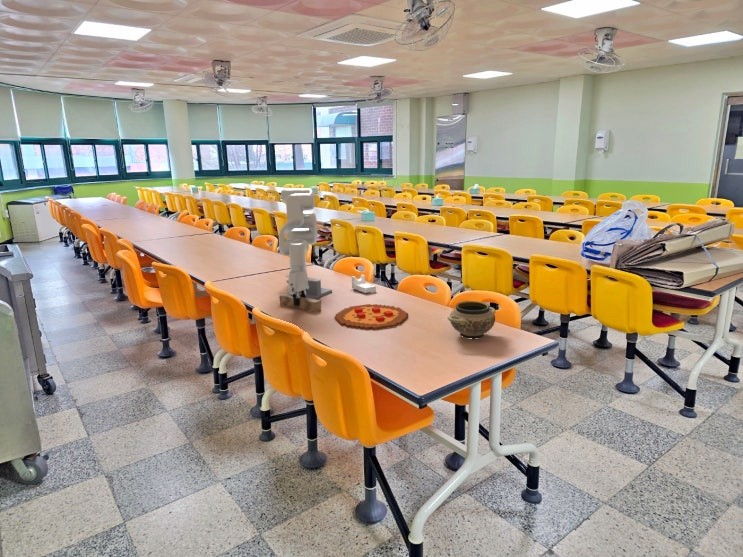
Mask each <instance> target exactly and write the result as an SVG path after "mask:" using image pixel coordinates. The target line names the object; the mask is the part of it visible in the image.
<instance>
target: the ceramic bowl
mask: <svg viewBox="0 0 743 557" xmlns="http://www.w3.org/2000/svg"><path fill="white" fill-rule="evenodd" d="M495 313H496V309H495V308H494V307H492V306H490V305H489V304H487V303H485V302H482V301H478V300H466V301H460V302H458V303H456V304H455V308H454V309H453V310H452V311H451V312H450V314H449V316H447V321H449V322H450V324H451V327H452V328H453V329H454V330H455V331H457V332H458V333H459V335H460V337H461V336H463V337H465V338H472V339H475V338H481V339H483V338H484V337H483V336H485V334H486V333H488V332H489V331H490V330H491V329H492V328H493V327H494V325H495V322H496V316H495V315H496V314H495ZM463 337H462V338H463ZM482 337H483V338H482ZM465 338H464V339H465ZM472 339H471V340H472ZM475 340H476V339H475Z"/></svg>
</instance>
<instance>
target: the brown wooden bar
mask: <svg viewBox="0 0 743 557" xmlns="http://www.w3.org/2000/svg"><path fill="white" fill-rule="evenodd" d="M278 298H279V305H281V304H283V305H282V306H286V305H288V306H287V307H290V306H292V308H295V307H296V308H295V309H300V308H301V310H304V309H305V310H304V311H309V310H310V311H311V312H315V313H317V311H318V312H319V311H320V312H321V311H322V301H321V300H320V299H319V300H318V299H310V298H305V297H299V296H298V298H299V306H295V305H294V301H293V298H292V296H291V295H290V294H289V293H281V294H279V297H278Z"/></svg>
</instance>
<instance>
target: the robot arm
mask: <svg viewBox="0 0 743 557" xmlns="http://www.w3.org/2000/svg"><path fill="white" fill-rule="evenodd" d="M280 197H281V200H282V202H283V203H284V204H285V206H286V208H285V209H286V222H285V223H283V225H282V227H281V228H280V229H279V233H278V249H279V252H280V254H281V255H283V256H289V270H290V271H289V272H287V274H286V275H285V276H286V278H288V286H287V287H288V294H289V295H291V296H292V298H293V301H294V305H295V306H299V298H298V293H299V292H301V295H300V297H305V298H306V295H307V291H308V289H309V285H308V272H307V253H308V251H309V248H310V247H309V245H315V244H316V243H317V241H318V226H317V225H318V224H317V216H316V214H315V212H314V211H312V210H314V209H315V206H316V199H315V193H314V190H313V189H312V188H311V187H310V188H308V187H306V188H305V187H304V188H283V189H282V190H281V192H280ZM285 237H286V239H285ZM295 293H296V295H295Z"/></svg>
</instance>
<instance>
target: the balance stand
mask: <svg viewBox="0 0 743 557" xmlns="http://www.w3.org/2000/svg"><path fill="white" fill-rule="evenodd" d="M321 282H322V281H321V278H314V277H308V285H309V289H308V291H307V295H306V298H310V299H315V300H317V299H320V298H321V296H322V297H324V296H326V294H327V295H329V294H332V293H333V289H330V288H323V287H322V284H321ZM331 292H332V293H331ZM295 295H296V293H295ZM300 295H301V292H299V293H298V296H299V297H300ZM316 298H317V299H316Z"/></svg>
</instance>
